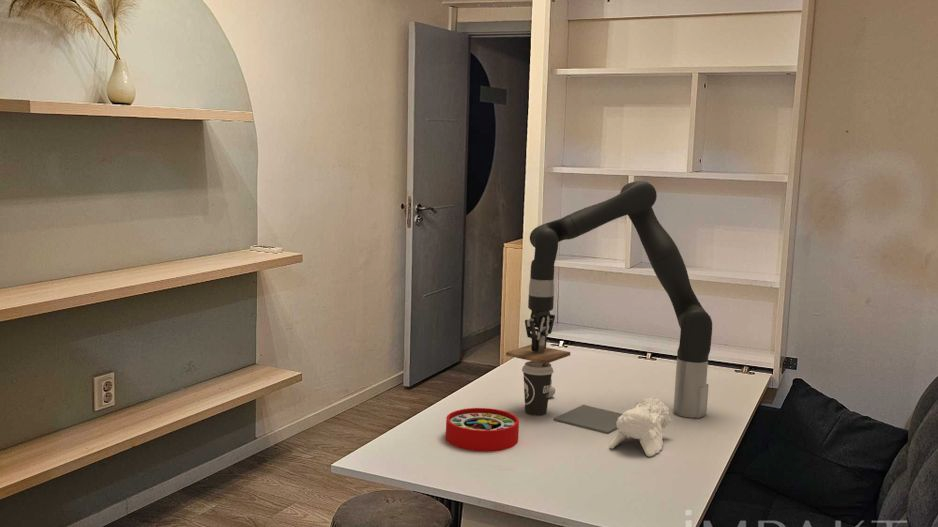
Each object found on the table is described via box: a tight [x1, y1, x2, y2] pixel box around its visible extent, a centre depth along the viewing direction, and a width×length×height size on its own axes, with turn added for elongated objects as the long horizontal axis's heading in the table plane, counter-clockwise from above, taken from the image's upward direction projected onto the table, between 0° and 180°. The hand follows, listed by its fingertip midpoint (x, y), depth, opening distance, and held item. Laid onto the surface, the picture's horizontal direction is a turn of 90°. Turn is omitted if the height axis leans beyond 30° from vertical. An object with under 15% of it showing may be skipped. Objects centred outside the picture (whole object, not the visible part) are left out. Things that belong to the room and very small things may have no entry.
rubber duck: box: [548, 379, 556, 399], centre depth 280 cm, size 5×7×8 cm
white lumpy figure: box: [608, 397, 672, 457], centre depth 238 cm, size 13×12×20 cm
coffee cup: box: [521, 360, 554, 417], centre depth 263 cm, size 10×10×15 cm
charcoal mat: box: [552, 404, 623, 435], centre depth 259 cm, size 18×18×1 cm
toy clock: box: [445, 407, 520, 453], centre depth 239 cm, size 20×6×20 cm
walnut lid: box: [505, 335, 571, 364], centre depth 261 cm, size 14×14×6 cm
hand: (538, 349), depth 261 cm, fingers closed on walnut lid, 3 cm apart
